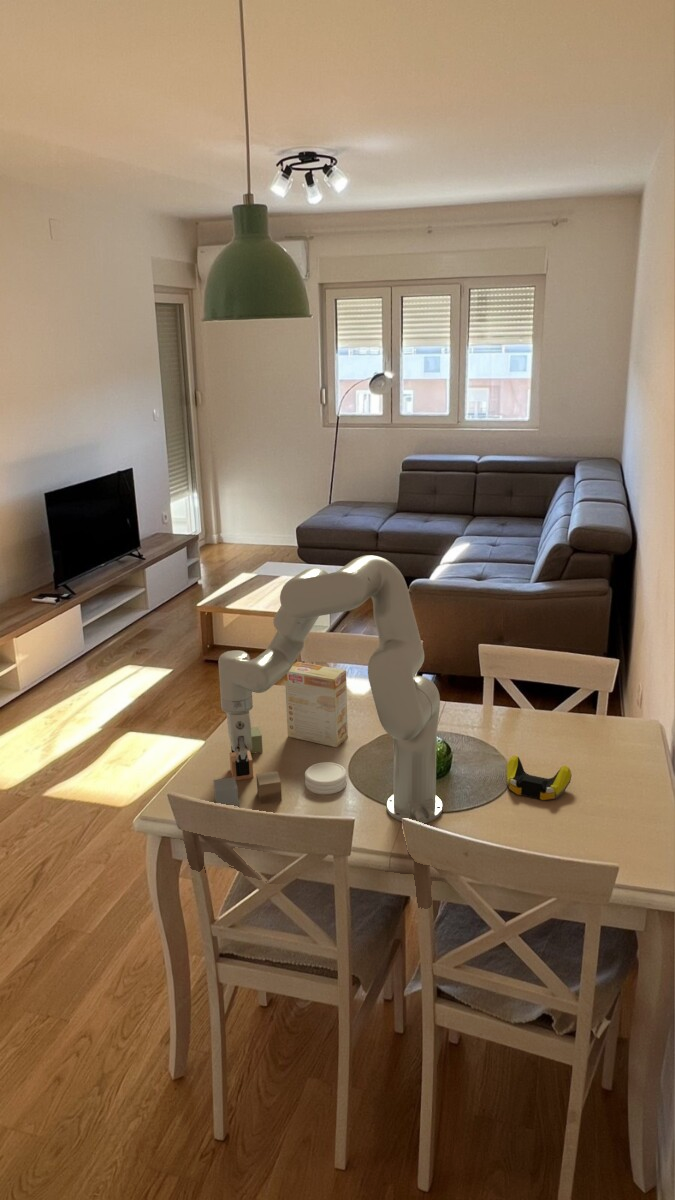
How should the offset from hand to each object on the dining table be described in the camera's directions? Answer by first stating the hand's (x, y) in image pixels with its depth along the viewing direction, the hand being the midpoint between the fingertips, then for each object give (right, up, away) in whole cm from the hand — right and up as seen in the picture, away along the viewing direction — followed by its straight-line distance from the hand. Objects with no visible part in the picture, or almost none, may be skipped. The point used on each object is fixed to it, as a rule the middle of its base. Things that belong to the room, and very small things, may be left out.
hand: (240, 765), depth 203 cm
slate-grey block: (-2, -6, -11) cm, 13 cm away
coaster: (+21, -4, -5) cm, 22 cm away
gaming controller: (+70, -4, -9) cm, 71 cm away
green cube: (+1, +2, +13) cm, 13 cm away
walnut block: (+8, -6, -9) cm, 13 cm away
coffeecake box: (+18, +4, +18) cm, 26 cm away
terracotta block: (0, -2, +1) cm, 3 cm away
